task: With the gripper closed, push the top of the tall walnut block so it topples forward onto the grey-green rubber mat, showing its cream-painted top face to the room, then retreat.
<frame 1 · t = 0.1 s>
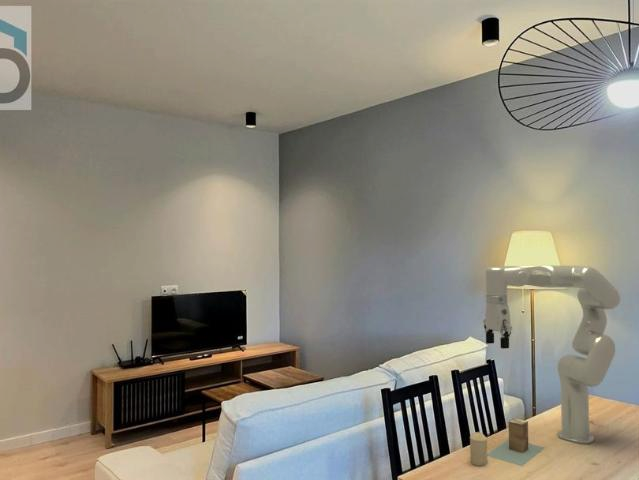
hand: (497, 345, 184), 37 cm above the table, tool pointing down, fingers open, 9 cm apart
block: (518, 449, 178), point 1 cm above the table, touching mat
mat: (515, 453, 176), on the table
candle: (478, 463, 168), on the table
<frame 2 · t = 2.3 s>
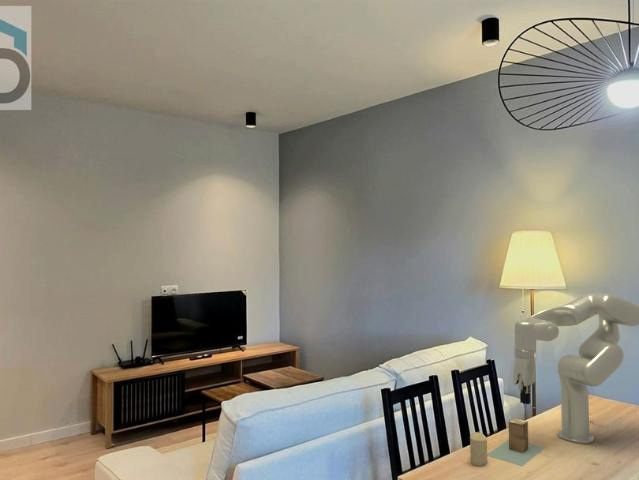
hand: (525, 403, 184), 15 cm above the table, tool pointing down, fingers closed
nothing on the table moved.
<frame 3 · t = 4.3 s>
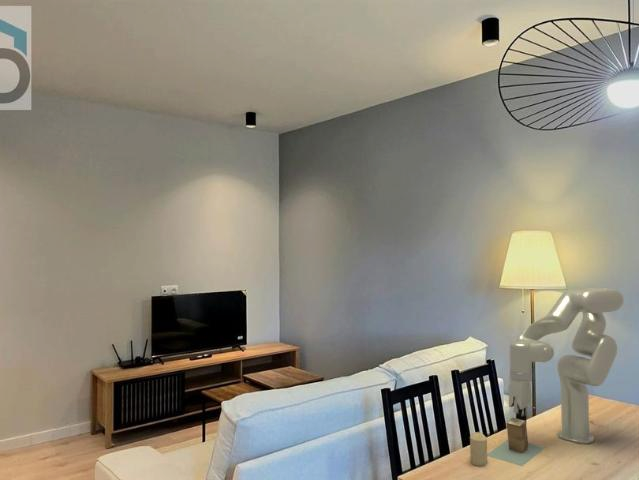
hand: (521, 425, 180), 8 cm above the table, tool pointing down, fingers closed
block: (518, 448, 178), point 1 cm above the table, tilted 10°, touching mat
everything else where it was.
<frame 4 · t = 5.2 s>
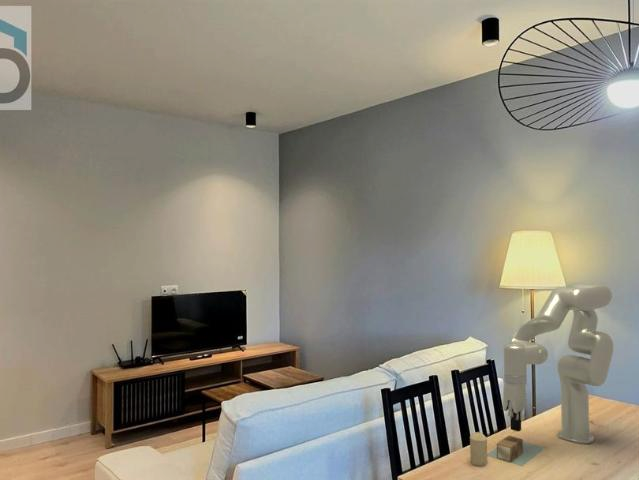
hand: (515, 429, 177), 8 cm above the table, tool pointing down, fingers closed
block: (515, 444, 176), point 3 cm above the table, tilted 90°, touching mat
everything else where it was.
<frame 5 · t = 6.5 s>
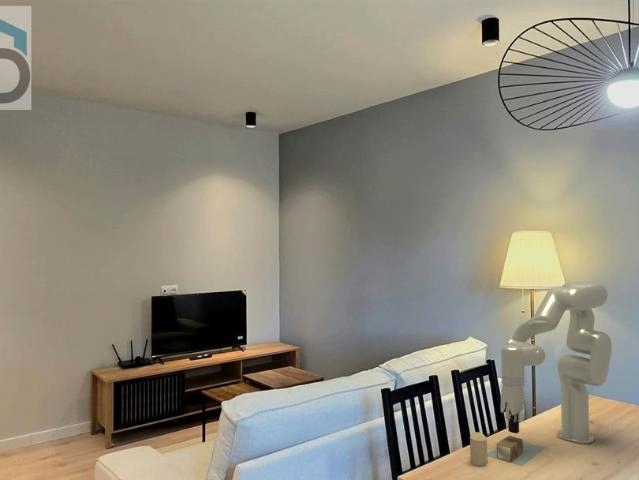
hand: (513, 432, 175), 8 cm above the table, tool pointing down, fingers closed
nothing on the table moved.
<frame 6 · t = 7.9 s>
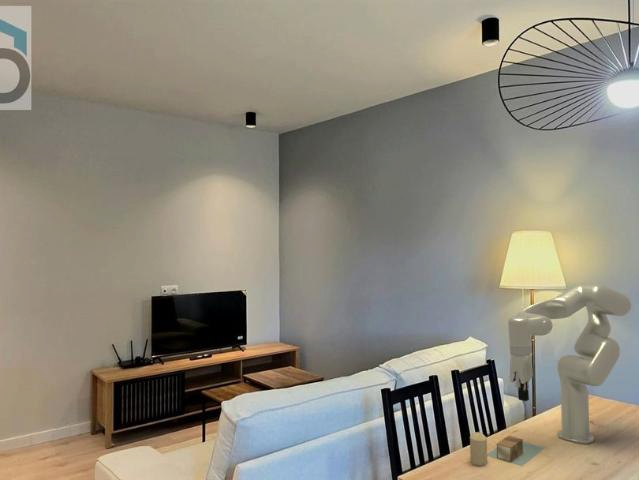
hand: (523, 399, 181), 18 cm above the table, tool pointing down, fingers closed
nothing on the table moved.
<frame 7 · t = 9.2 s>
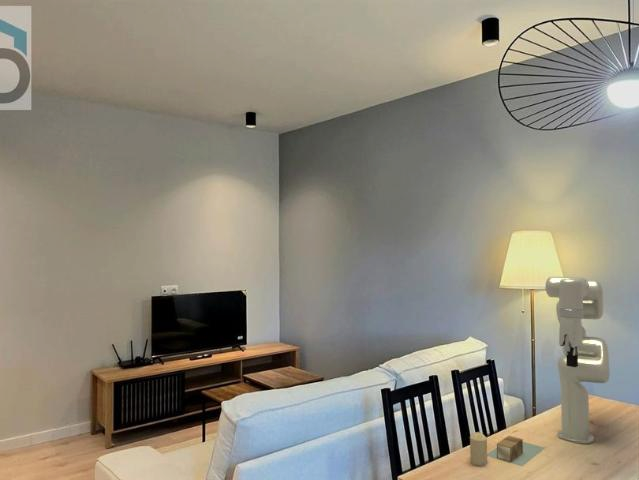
hand: (572, 366, 172), 32 cm above the table, tool pointing down, fingers closed
nothing on the table moved.
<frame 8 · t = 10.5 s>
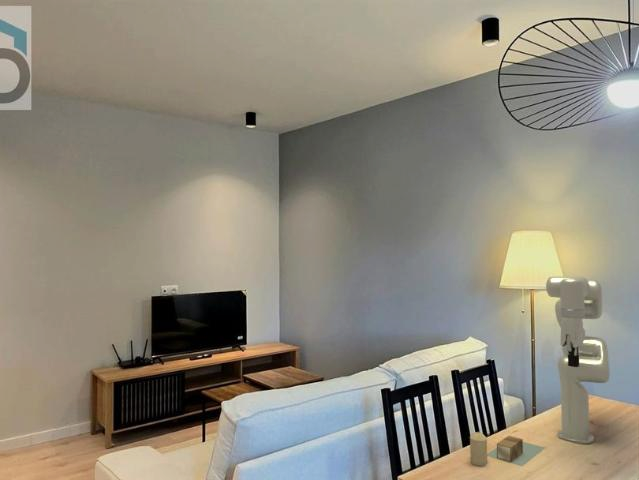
hand: (573, 366, 172), 32 cm above the table, tool pointing down, fingers closed
nothing on the table moved.
at the end: block tilted 90°; block inside the target area (3.0 cm from its centre), point 3.1 cm above the table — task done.
